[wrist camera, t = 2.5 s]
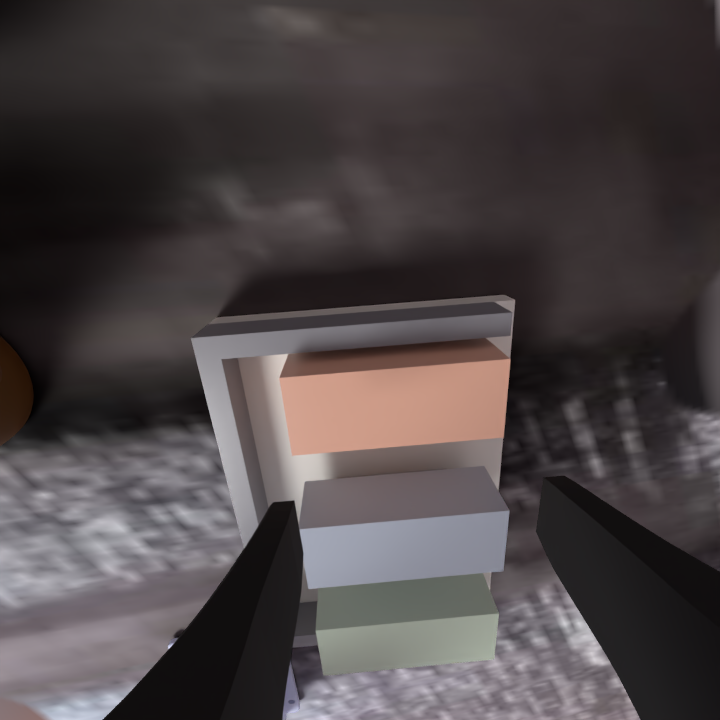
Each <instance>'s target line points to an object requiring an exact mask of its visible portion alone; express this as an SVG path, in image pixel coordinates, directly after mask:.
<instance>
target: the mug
mask: <svg viewBox="0 0 720 720" xmlns="http://www.w3.org/2000/svg"><path fill="white" fill-rule="evenodd" d="M33 398H34V393H33V385H32V381H31V378H30V375H29V373H28V370H27V368H26V367H25V365H24V363H23V361H22V360H21V358H20V357H19V355H18V354H17V353H16V352H15V350H14V349H13V348H12V347H11V346H10V345H9V344H8V343H7V342H6V341H5V340H4V339H3V338H2V337H1V336H0V446H1V445H2V444H4V443H5V442H6V441H8V440H9V439H10V438H12V437H13V436H14V435H15V434H16V433H17V432H18V431H19V430H20V429H21V428H22V427H23V426H24V424H25V423H26V421H27V420H28V418H29V415H30V413H31V409H32V405H33Z"/></svg>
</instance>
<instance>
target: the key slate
mask: <svg viewBox="0 0 720 720" xmlns="http://www.w3.org/2000/svg"><path fill="white" fill-rule="evenodd" d="M509 511H510V510H509V509H508V507H507V505H506V503H505V502H504V500H503V498H502V496H501V495H500V493H499V491H498V489H497V488H496V486H495V484H494V482H493V481H492V479H491V477H490V475H489V474H488V472H487V470H486V468H485V467H484V466H477V467H465V468H454V469H442V470H431V471H419V472H408V473H396V474H385V475H374V476H362V477H351V478H339V479H328V480H316V481H305V483H304V490H303V498H302V505H301V512H300V519H299V530H300V535H301V541H302V547H303V553H304V555H303V561H304V567H305V572H306V578H307V584H308V589H315V588H326V587H337V586H348V585H358V584H369V583H380V582H391V581H402V580H413V579H424V578H434V577H445V576H456V575H467V574H478V573H489V572H499V571H503V569H504V559H505V550H506V540H507V531H508V521H509Z"/></svg>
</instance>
